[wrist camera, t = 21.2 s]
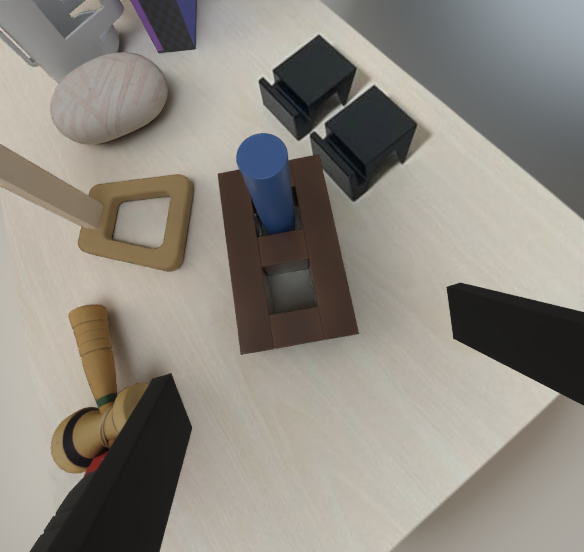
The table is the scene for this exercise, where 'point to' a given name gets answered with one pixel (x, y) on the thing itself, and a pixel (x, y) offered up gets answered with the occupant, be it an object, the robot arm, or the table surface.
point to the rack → (286, 263)
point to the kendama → (102, 379)
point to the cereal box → (169, 23)
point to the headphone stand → (104, 209)
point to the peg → (268, 181)
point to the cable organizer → (59, 32)
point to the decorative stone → (108, 98)
